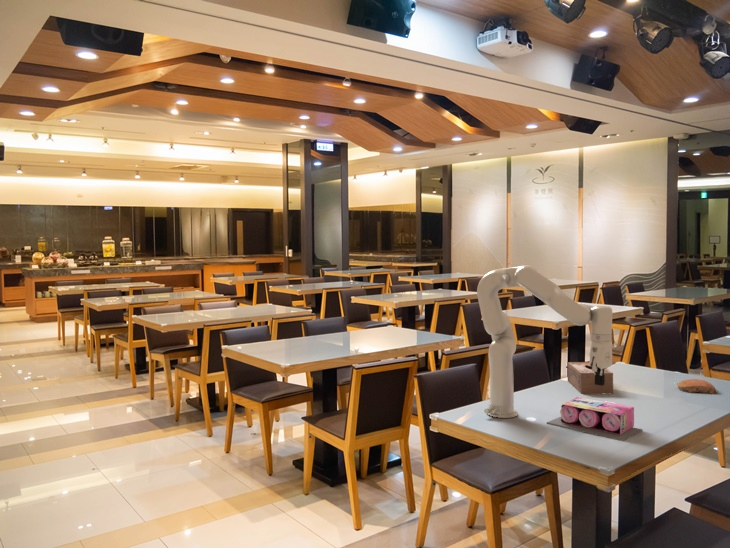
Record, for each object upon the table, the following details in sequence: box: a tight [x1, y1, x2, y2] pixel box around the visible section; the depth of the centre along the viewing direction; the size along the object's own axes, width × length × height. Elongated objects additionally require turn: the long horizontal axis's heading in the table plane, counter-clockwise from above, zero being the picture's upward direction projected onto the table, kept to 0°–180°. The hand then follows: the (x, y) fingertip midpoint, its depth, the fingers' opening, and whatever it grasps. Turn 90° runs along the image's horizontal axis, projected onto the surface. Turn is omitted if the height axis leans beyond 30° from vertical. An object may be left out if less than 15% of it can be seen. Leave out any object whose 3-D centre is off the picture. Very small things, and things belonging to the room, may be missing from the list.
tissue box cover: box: [567, 361, 614, 395], centre depth 288 cm, size 26×14×10 cm, turn 174°
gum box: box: [559, 396, 635, 435], centre depth 227 cm, size 24×8×14 cm
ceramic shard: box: [677, 378, 718, 394], centre depth 279 cm, size 15×6×15 cm
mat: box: [546, 416, 643, 442], centre depth 226 cm, size 16×30×1 cm, turn 42°
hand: (599, 384), depth 230 cm, fingers closed
